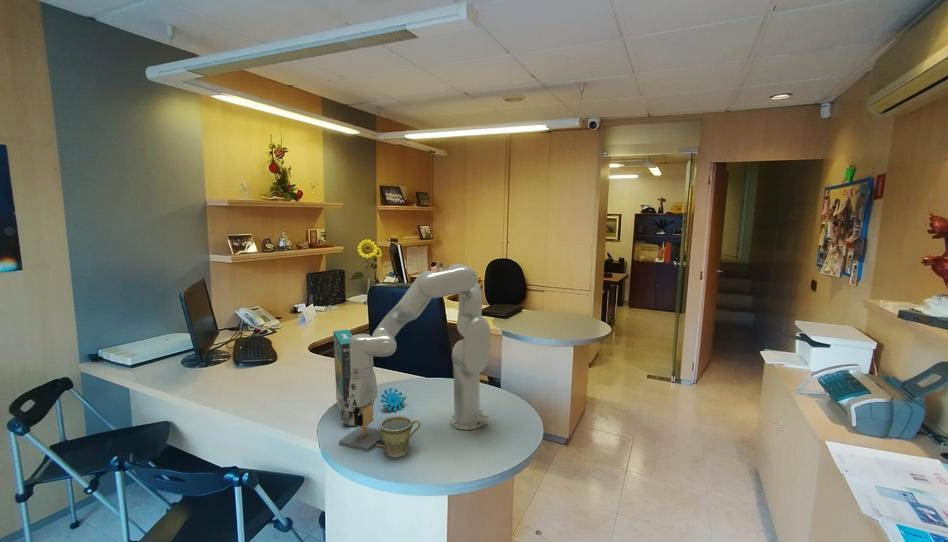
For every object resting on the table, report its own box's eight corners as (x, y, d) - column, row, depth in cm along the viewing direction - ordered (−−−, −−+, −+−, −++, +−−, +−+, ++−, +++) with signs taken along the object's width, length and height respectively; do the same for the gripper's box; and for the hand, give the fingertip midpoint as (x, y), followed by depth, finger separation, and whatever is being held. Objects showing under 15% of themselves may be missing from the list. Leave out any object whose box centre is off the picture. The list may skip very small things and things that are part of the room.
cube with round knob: (373, 421, 147) (372, 400, 146) (364, 427, 142) (364, 405, 141) (362, 418, 148) (361, 398, 148) (353, 424, 144) (352, 403, 143)
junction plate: (398, 436, 148) (397, 421, 147) (378, 454, 137) (377, 437, 136) (361, 428, 154) (360, 413, 153) (338, 444, 143) (338, 428, 142)
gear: (383, 411, 164) (379, 387, 170) (379, 417, 168) (375, 394, 174) (410, 408, 170) (405, 386, 176) (405, 415, 174) (400, 392, 179)
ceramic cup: (384, 463, 131) (383, 432, 130) (378, 448, 140) (377, 419, 139) (424, 454, 137) (424, 424, 135) (416, 440, 146) (415, 412, 145)
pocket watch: (367, 420, 160) (366, 395, 159) (353, 430, 152) (352, 404, 151) (349, 417, 163) (348, 392, 162) (335, 427, 155) (334, 401, 154)
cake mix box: (360, 417, 163) (357, 342, 159) (344, 420, 160) (341, 344, 157) (350, 397, 182) (348, 329, 179) (336, 399, 180) (333, 331, 176)
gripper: (355, 380, 134) (356, 435, 136) (385, 364, 150) (386, 413, 152) (336, 377, 137) (338, 430, 139) (368, 361, 153) (369, 410, 154)
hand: (363, 421), depth 145 cm, fingers closed on cube with round knob, 4 cm apart
